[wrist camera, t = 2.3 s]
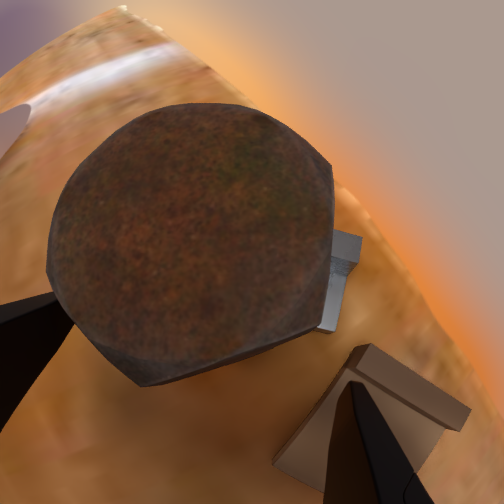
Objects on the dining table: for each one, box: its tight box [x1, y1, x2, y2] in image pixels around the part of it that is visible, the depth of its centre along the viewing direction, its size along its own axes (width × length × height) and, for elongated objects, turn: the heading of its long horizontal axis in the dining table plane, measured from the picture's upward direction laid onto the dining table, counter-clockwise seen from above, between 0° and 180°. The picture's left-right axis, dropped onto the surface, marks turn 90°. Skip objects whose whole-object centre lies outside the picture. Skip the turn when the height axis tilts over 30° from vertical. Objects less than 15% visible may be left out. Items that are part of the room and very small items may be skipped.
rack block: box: [272, 343, 472, 493], centre depth 14 cm, size 9×9×3 cm
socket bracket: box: [314, 229, 362, 334], centre depth 18 cm, size 5×11×4 cm, turn 74°
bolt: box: [46, 103, 335, 387], centre depth 12 cm, size 6×5×15 cm
